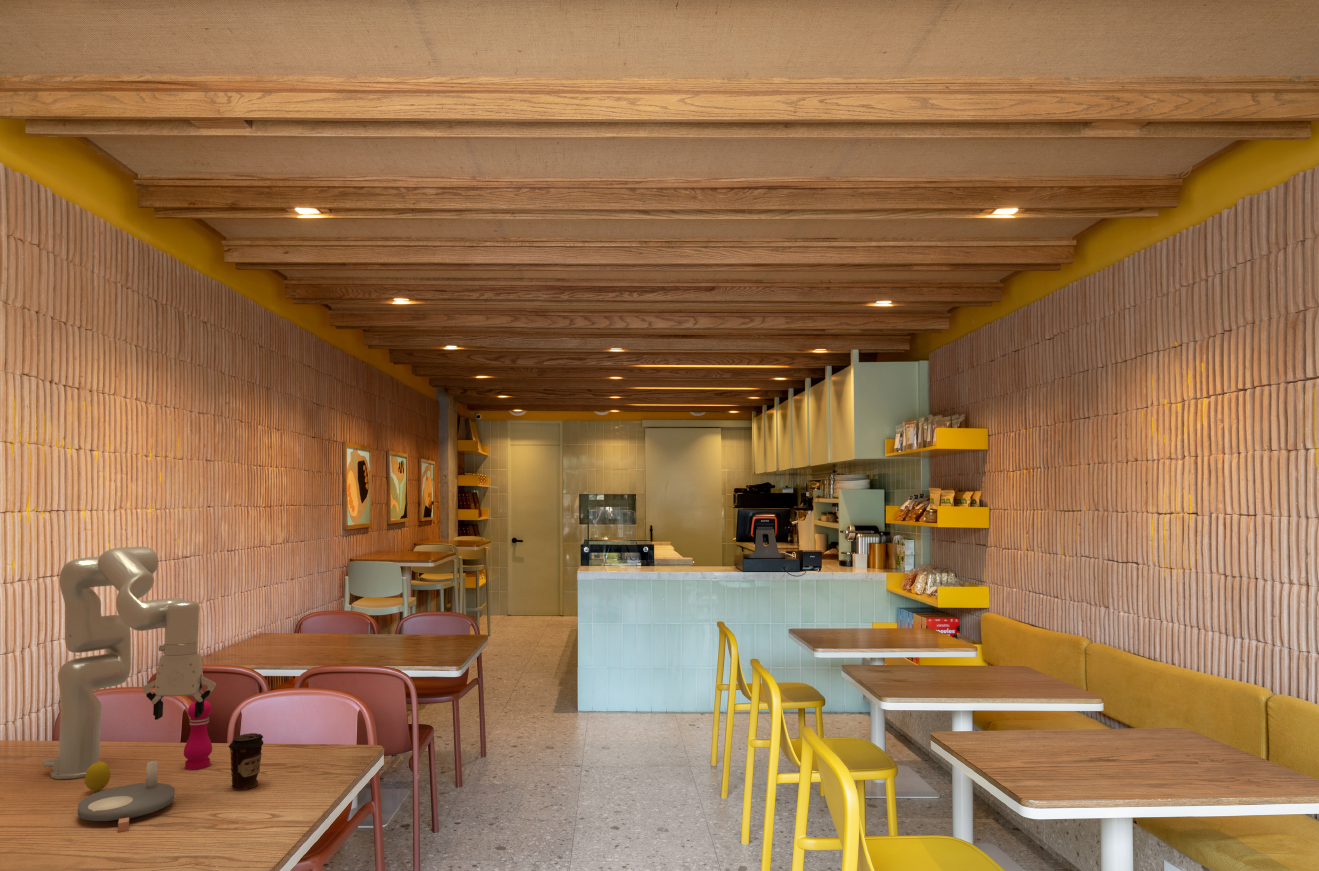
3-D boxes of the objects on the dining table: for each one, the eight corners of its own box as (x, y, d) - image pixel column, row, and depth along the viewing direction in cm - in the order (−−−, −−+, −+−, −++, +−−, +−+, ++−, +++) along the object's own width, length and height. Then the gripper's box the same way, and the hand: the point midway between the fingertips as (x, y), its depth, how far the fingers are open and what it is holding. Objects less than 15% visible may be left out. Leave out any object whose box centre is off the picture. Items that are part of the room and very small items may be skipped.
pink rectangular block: (118, 827, 194) (119, 818, 194) (128, 826, 195) (129, 817, 195) (117, 832, 191) (118, 823, 191) (128, 830, 192) (128, 821, 192)
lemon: (92, 788, 220) (93, 757, 220) (114, 788, 220) (115, 757, 221) (79, 796, 214) (80, 764, 215) (101, 795, 215) (103, 763, 215)
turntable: (59, 823, 192) (61, 788, 193) (102, 793, 212) (104, 761, 213) (153, 818, 196) (155, 783, 196) (187, 788, 215) (188, 757, 216)
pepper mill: (217, 762, 241) (219, 692, 243) (201, 770, 234) (203, 698, 235) (193, 762, 242) (196, 692, 243) (177, 770, 235) (180, 697, 236)
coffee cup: (270, 783, 224) (272, 733, 225) (245, 793, 216) (247, 742, 217) (245, 779, 227) (246, 730, 228) (220, 789, 219) (221, 739, 220)
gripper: (138, 653, 210) (135, 723, 209) (211, 651, 213) (209, 719, 211) (150, 648, 217) (148, 715, 216) (222, 645, 220) (219, 712, 219)
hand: (178, 717), depth 214 cm, fingers open, 9 cm apart
